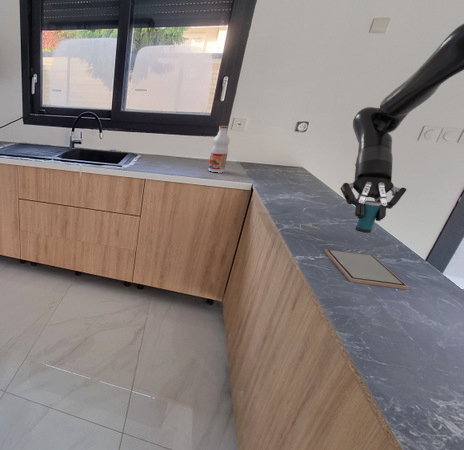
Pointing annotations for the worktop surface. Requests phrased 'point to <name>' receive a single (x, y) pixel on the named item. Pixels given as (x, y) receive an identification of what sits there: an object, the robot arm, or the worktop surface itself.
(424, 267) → the worktop surface
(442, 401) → the worktop surface
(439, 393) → the worktop surface
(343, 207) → the worktop surface
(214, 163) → the fruit juice
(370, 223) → the tumbler
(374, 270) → the tablet
